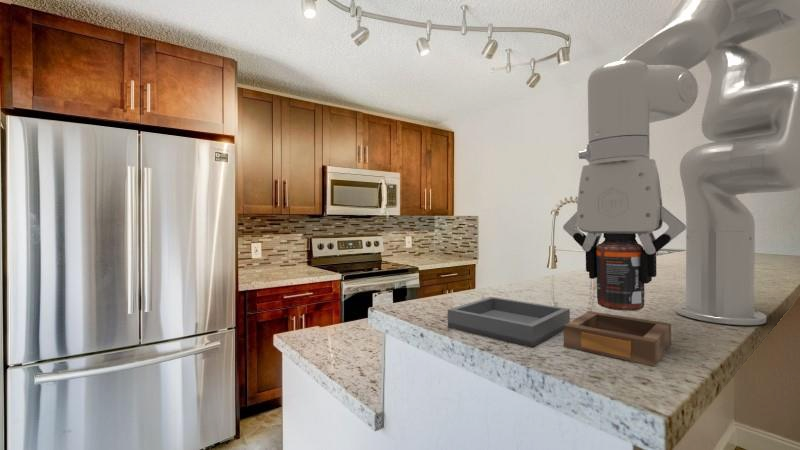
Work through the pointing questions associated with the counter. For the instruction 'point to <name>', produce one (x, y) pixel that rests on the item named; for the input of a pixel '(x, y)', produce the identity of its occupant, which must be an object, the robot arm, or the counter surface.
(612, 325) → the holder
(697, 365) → the counter surface
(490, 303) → the tray
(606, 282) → the supplement bottle
